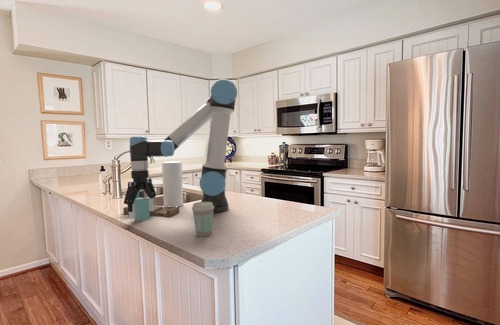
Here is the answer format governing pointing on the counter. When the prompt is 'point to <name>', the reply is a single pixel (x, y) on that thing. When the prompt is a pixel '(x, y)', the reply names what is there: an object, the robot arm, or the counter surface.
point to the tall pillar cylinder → (172, 183)
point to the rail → (155, 208)
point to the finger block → (141, 209)
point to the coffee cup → (203, 218)
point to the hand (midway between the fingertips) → (142, 214)
